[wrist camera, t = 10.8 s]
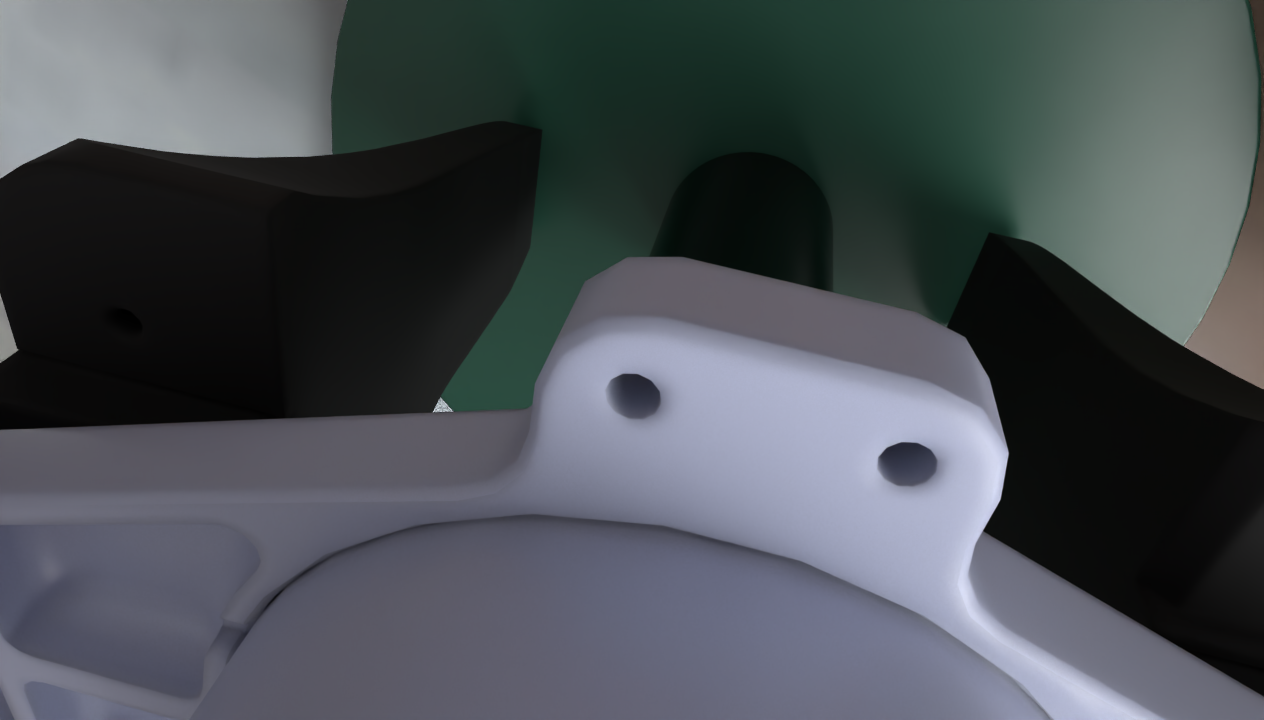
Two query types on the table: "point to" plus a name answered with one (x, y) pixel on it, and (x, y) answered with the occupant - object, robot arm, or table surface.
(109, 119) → the table surface
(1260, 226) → the table surface
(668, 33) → the lid
